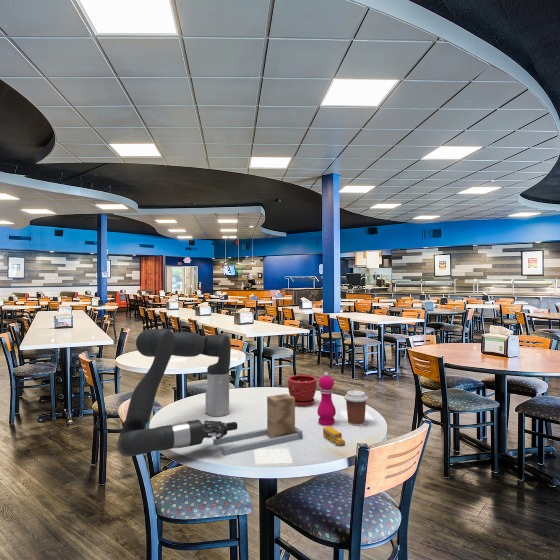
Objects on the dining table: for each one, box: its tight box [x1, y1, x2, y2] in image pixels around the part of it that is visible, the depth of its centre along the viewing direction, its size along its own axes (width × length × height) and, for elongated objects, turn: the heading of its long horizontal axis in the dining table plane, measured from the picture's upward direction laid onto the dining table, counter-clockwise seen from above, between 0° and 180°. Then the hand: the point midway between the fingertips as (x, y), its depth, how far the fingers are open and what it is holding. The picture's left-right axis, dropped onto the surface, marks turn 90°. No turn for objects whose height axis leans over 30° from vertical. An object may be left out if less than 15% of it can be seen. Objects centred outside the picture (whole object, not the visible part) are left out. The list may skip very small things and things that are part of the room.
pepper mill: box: [317, 371, 337, 427], centre depth 160 cm, size 7×7×20 cm
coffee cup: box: [343, 389, 369, 427], centre depth 160 cm, size 9×9×12 cm
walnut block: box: [266, 393, 296, 439], centre depth 145 cm, size 8×6×14 cm
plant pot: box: [287, 374, 317, 407], centre depth 188 cm, size 13×13×12 cm
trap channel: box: [212, 426, 303, 456], centre depth 141 cm, size 29×11×3 cm, turn 119°
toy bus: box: [322, 425, 346, 447], centre depth 141 cm, size 3×10×4 cm, turn 24°
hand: (236, 425), depth 137 cm, fingers closed
